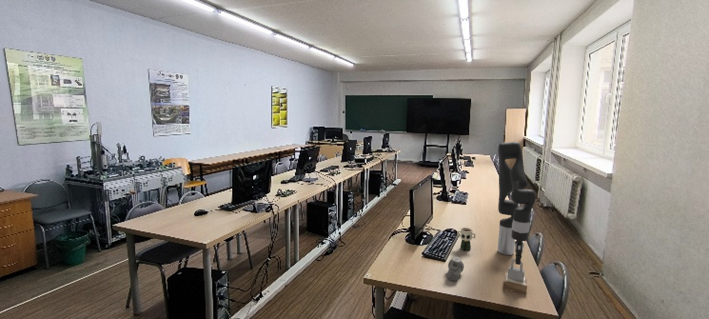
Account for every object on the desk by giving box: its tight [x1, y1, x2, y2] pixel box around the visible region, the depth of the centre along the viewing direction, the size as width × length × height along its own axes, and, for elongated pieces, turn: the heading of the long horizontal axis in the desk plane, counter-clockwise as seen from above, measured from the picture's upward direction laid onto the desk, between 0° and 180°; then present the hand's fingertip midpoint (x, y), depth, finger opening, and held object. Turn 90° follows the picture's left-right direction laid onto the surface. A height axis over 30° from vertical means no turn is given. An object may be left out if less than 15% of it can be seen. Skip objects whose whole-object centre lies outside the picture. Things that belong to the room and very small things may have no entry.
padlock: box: [507, 258, 526, 281], centre depth 163 cm, size 7×4×10 cm, turn 57°
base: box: [503, 272, 528, 295], centre depth 164 cm, size 10×10×4 cm
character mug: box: [456, 227, 476, 251], centre depth 208 cm, size 11×7×13 cm, turn 66°
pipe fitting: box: [446, 256, 465, 282], centre depth 173 cm, size 12×8×10 cm, turn 153°
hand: (517, 260), depth 162 cm, fingers open, 8 cm apart
